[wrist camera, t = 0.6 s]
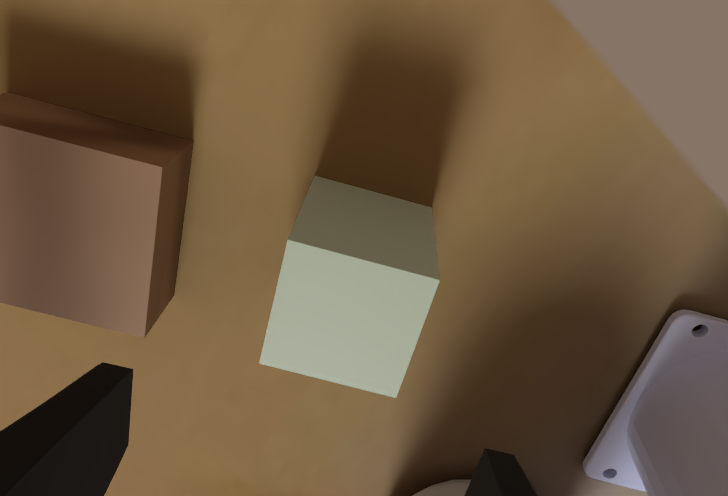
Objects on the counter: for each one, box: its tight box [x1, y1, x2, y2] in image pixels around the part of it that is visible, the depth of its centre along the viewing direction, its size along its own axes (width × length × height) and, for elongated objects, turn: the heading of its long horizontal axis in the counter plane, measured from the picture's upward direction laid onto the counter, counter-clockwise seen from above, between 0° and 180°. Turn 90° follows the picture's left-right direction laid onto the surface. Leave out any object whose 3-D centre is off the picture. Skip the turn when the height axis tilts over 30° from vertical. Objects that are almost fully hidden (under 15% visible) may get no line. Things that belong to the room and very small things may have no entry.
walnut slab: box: [0, 92, 194, 338], centre depth 19 cm, size 6×6×3 cm
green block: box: [259, 176, 440, 398], centre depth 18 cm, size 4×4×5 cm
